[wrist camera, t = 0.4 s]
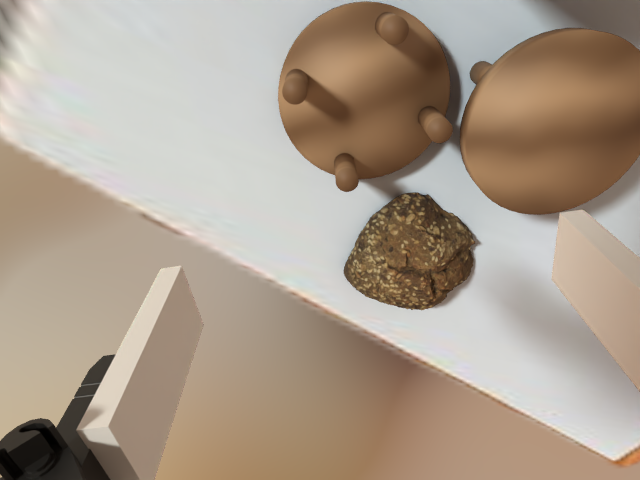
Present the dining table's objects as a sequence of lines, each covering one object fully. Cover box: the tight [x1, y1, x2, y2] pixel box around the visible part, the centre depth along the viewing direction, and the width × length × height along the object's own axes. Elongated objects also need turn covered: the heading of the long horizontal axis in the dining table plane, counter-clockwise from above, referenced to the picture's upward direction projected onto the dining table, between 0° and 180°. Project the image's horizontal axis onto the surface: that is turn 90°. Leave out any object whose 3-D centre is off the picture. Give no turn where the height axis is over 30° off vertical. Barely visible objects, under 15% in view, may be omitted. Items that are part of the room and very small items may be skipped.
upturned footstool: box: [278, 1, 453, 192], centre depth 36 cm, size 14×14×6 cm
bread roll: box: [344, 193, 476, 310], centre depth 45 cm, size 13×12×5 cm
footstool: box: [460, 28, 640, 214], centre depth 37 cm, size 14×14×6 cm
